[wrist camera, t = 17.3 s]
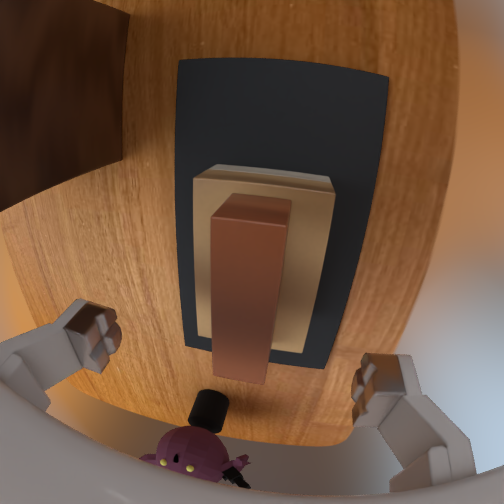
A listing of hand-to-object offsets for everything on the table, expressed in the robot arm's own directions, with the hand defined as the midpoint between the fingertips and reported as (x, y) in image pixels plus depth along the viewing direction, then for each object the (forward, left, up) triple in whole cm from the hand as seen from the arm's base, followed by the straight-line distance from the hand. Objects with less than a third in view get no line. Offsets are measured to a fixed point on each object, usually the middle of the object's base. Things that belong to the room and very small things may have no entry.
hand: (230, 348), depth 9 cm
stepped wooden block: (+1, 0, -9) cm, 9 cm away
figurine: (+18, -4, -10) cm, 21 cm away
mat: (0, 0, -9) cm, 9 cm away
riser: (-9, -14, -9) cm, 19 cm away
